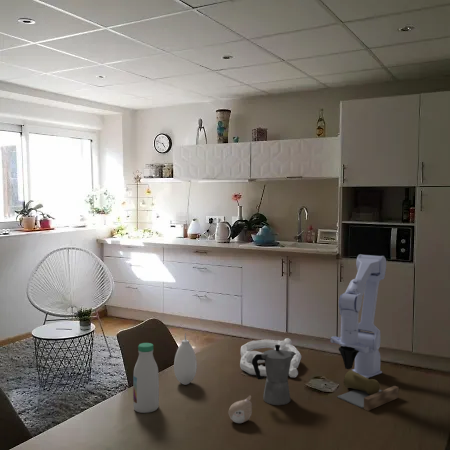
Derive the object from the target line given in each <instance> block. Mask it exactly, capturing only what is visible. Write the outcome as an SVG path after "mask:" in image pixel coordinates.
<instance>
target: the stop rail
mask: <svg viewBox="0 0 450 450" xmlns="http://www.w3.org/2000/svg"><path fill="white" fill-rule="evenodd" d="M381 390H382V389H381ZM399 390H400V389H399V386H396V385H393V386H391V387H388V388H385V389H383V390H382V391H380V392H377V393H375V394H372V395H370V396H368V397H365V398H364V408H363V409H364V410H365V411H368V412H369V411H371V410H373V409H375V408H377V407H380V406H383V405H385V404H386V403H387V404H388V403H389V402H392V401H394V400H397V399H398V398H399Z"/></svg>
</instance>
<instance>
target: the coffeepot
mask: <svg viewBox="0 0 450 450" xmlns="http://www.w3.org/2000/svg"><path fill="white" fill-rule="evenodd" d="M275 348H276V350H274V349H267V350H265V351H263V352H262V353H263V354H257V355H256V356H255V357H254V358H253V360H252V365H253V367H254V370H255V373H256V375H255V376H256V379H257V380H263V379H264V378H265V376H260V370H259V368H258V366H259V363H257V361H258V360H265V362H264V365H265V366H264V367H266V374H267V376H266V378H265V379H266V380H265V384H264V390H263V401H264V402H265V403H267V404H270V405H272V406H284V405H287V404H289V403H290V402H291V395H290V387H289V380H288V379H289V369H290V363H291V360H292V358H293V357H294V355H295V354H296V353H294V352H292V351H284V350H279V348H280V345H275Z"/></svg>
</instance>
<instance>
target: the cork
mask: <svg viewBox="0 0 450 450" xmlns="http://www.w3.org/2000/svg"><path fill="white" fill-rule="evenodd" d="M343 384H344V387H346V388H347V389H349V388H350V389H353V390H355V389H357V390H361V391H365V392H367V393H368V394H369V395H372V394H375V393H377V392H379V390H381V386H380V383H379V381H378V380H377V379H375V378H374V379H373V378H371V379H369V378H366V377H364V376H362V375H360V374H358V373H357V372H355V371H353V369H348V371H347V372H346V373H345V375H344V379H343Z"/></svg>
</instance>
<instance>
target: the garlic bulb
mask: <svg viewBox="0 0 450 450" xmlns="http://www.w3.org/2000/svg"><path fill="white" fill-rule="evenodd" d="M251 398H252V396H251V394H249V395H248V396H247V397H245V398H244V399H240V400H238V401H235V402H234V403H232V404H231V405H230V407H229V409H228V412H227V413H228V416H229V418H230V420H231V421H233V422H234V423H236V424H242V423H245V422H247V421H249V420H250V419H251V418H252V417H251V416H252V413H253V404H252V402H251Z"/></svg>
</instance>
